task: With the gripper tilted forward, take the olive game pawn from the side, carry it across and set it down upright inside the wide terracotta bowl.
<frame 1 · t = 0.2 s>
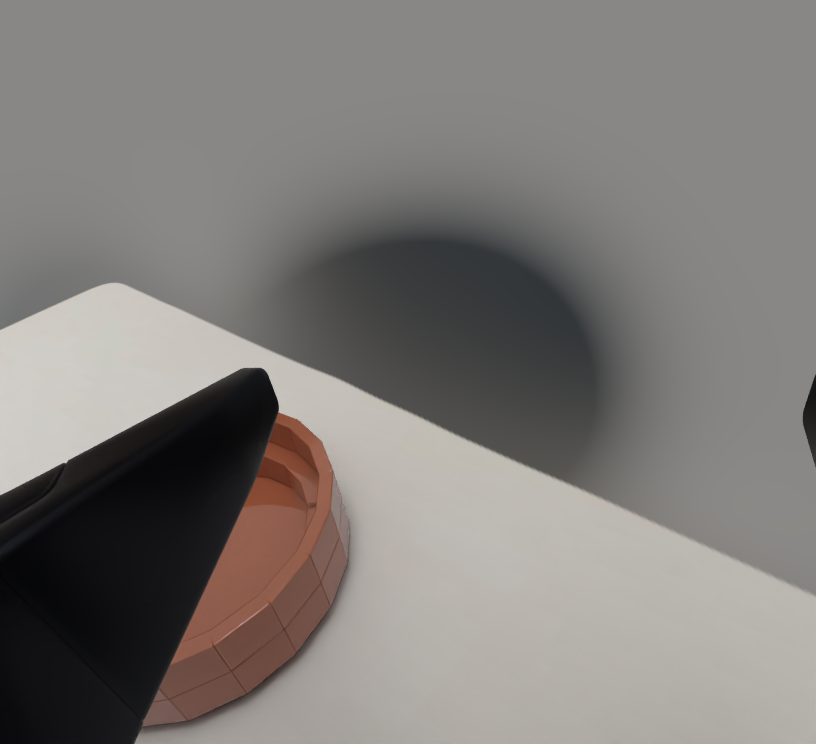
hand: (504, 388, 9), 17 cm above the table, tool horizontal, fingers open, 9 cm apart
bowl: (209, 567, 26), on the table
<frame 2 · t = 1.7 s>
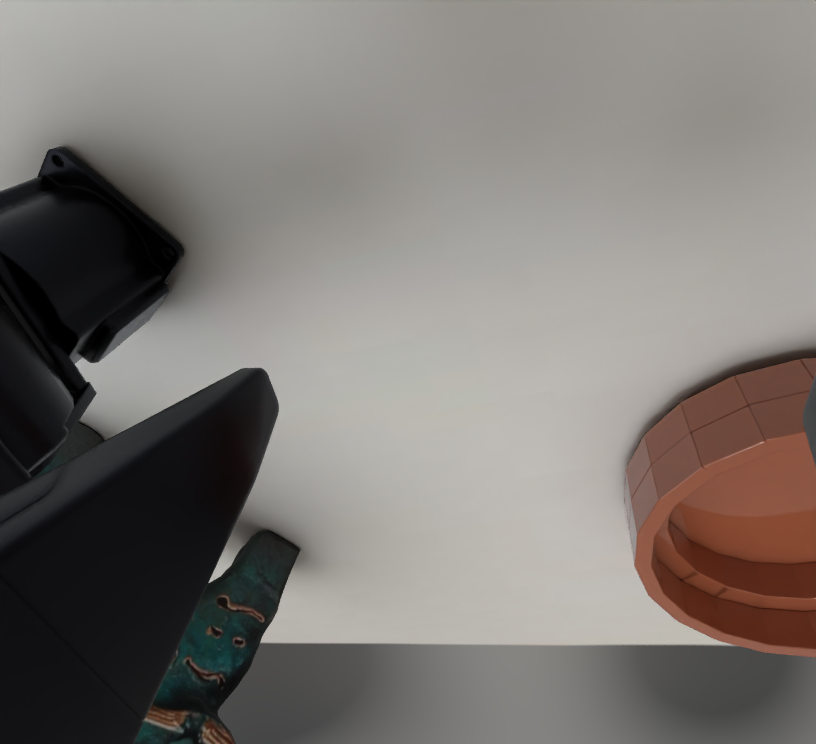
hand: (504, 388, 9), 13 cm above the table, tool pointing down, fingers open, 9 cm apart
ceramic cat: (187, 498, 36), on the table
bowl: (789, 478, 24), on the table
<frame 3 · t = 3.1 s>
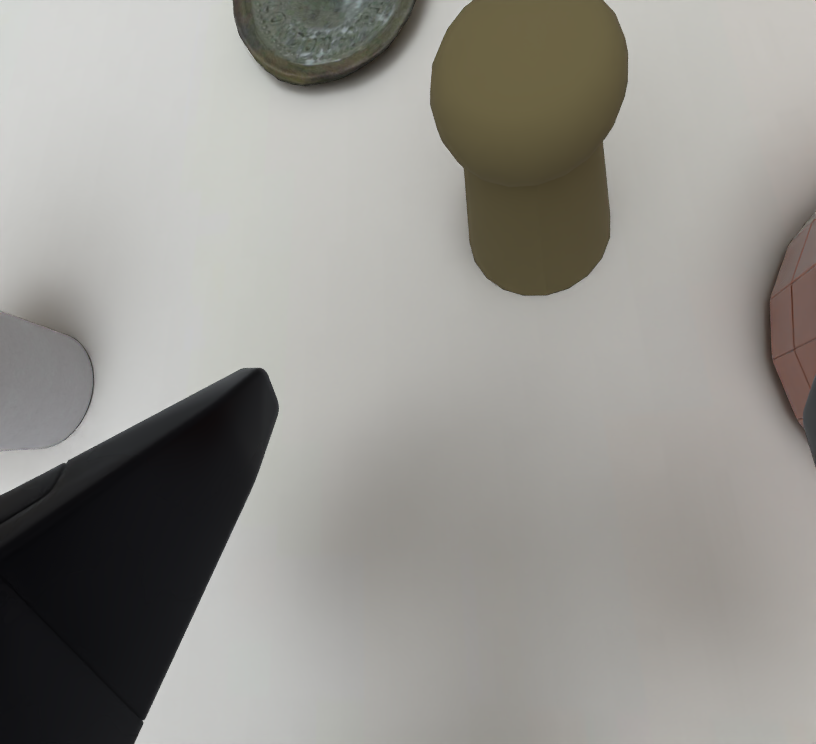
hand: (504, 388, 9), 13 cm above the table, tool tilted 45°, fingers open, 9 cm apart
coffee cup: (49, 390, 29), on the table
lid: (339, 11, 28), on the table
olive game pawn: (537, 231, 23), on the table
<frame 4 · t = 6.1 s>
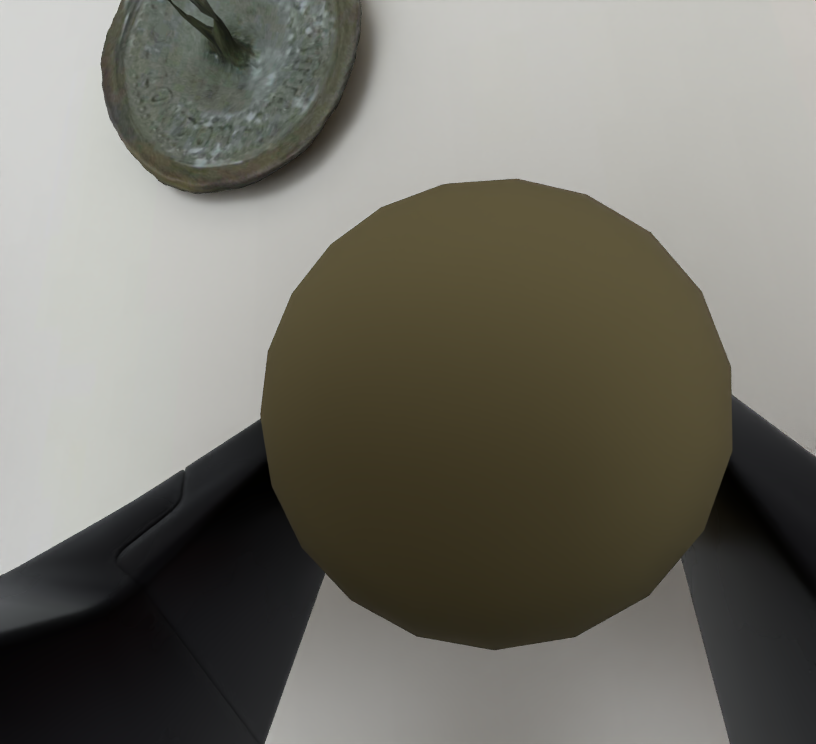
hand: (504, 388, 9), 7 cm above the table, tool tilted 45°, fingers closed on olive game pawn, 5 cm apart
lid: (252, 82, 20), on the table
olive game pawn: (526, 440, 15), on the table, touching gripper
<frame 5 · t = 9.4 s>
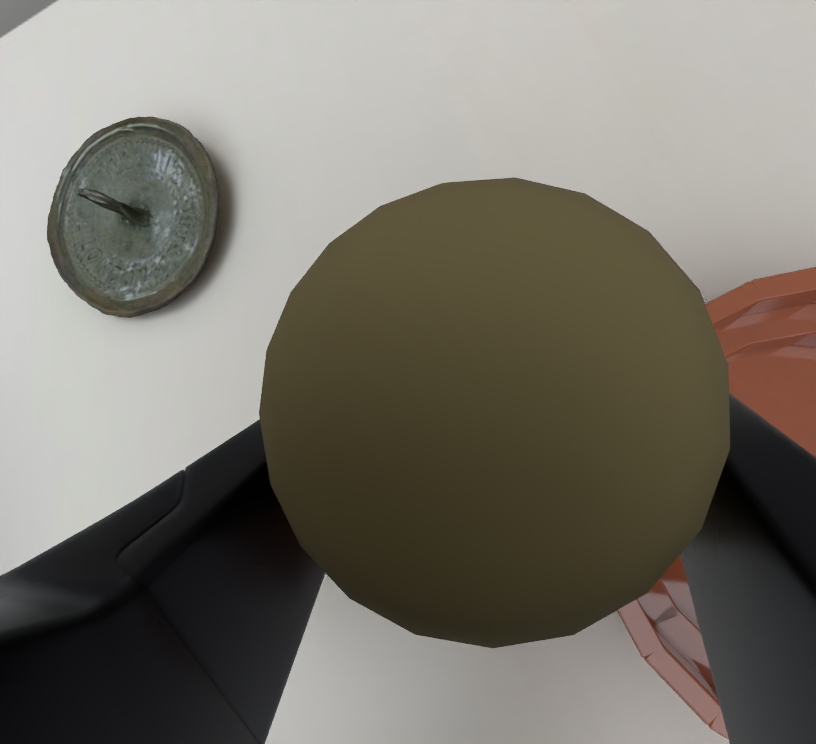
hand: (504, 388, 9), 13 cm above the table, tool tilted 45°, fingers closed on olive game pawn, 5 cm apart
lid: (156, 230, 29), on the table
olive game pawn: (525, 440, 15), point 6 cm above the table, touching gripper
bowl: (796, 503, 19), on the table
when the fingers open (7 cm above the table, at t = 13.0 s): olive game pawn stays where it is, resting on bowl.
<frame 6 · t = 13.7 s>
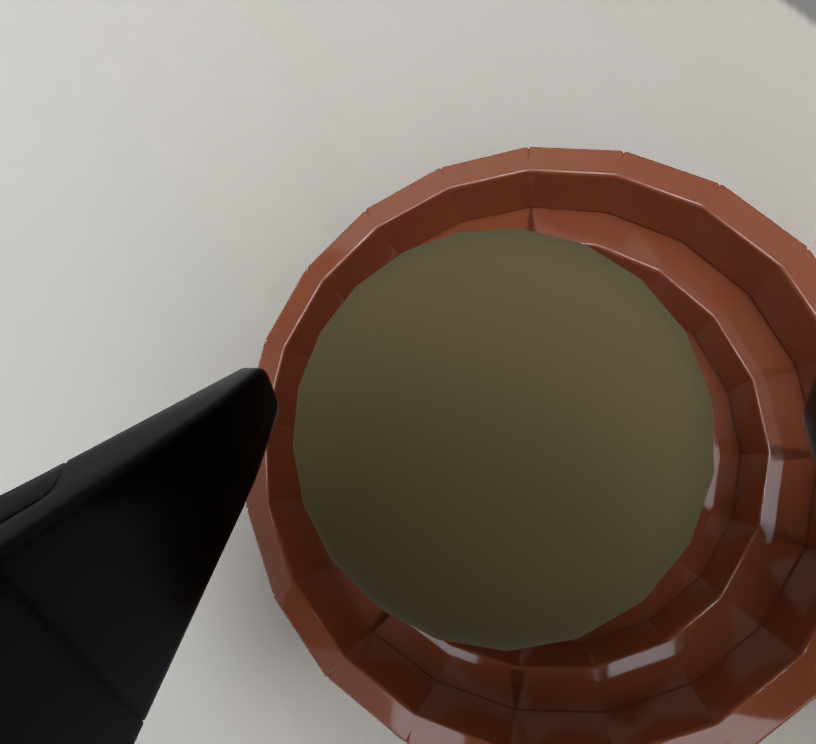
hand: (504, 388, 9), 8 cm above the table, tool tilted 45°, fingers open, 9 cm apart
olive game pawn: (528, 449, 16), resting on bowl
bowl: (529, 443, 16), on the table
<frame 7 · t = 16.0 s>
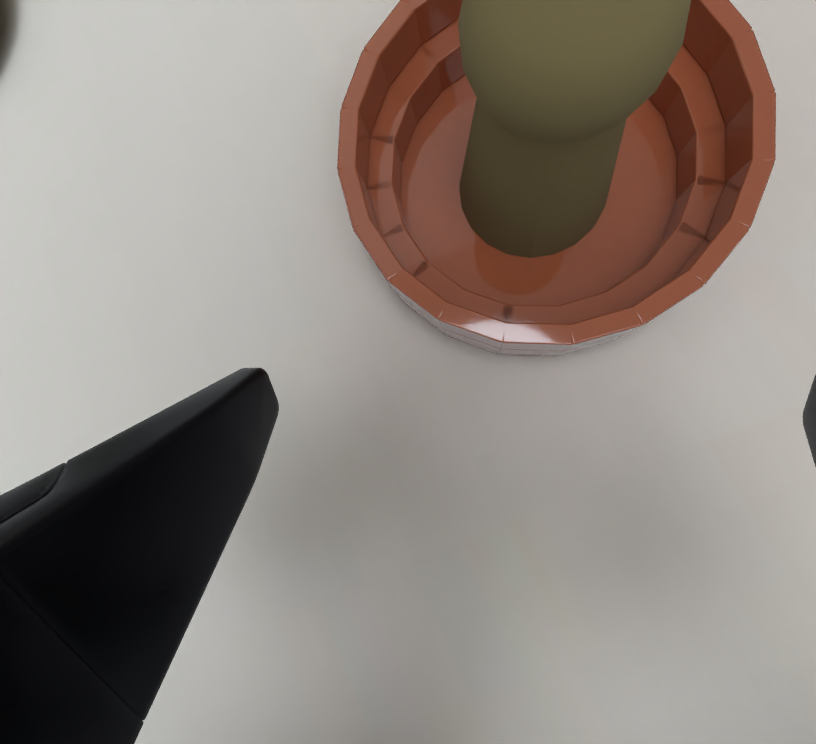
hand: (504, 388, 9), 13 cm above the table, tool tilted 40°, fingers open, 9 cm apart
olive game pawn: (532, 187, 22), resting on bowl
bowl: (532, 187, 22), on the table
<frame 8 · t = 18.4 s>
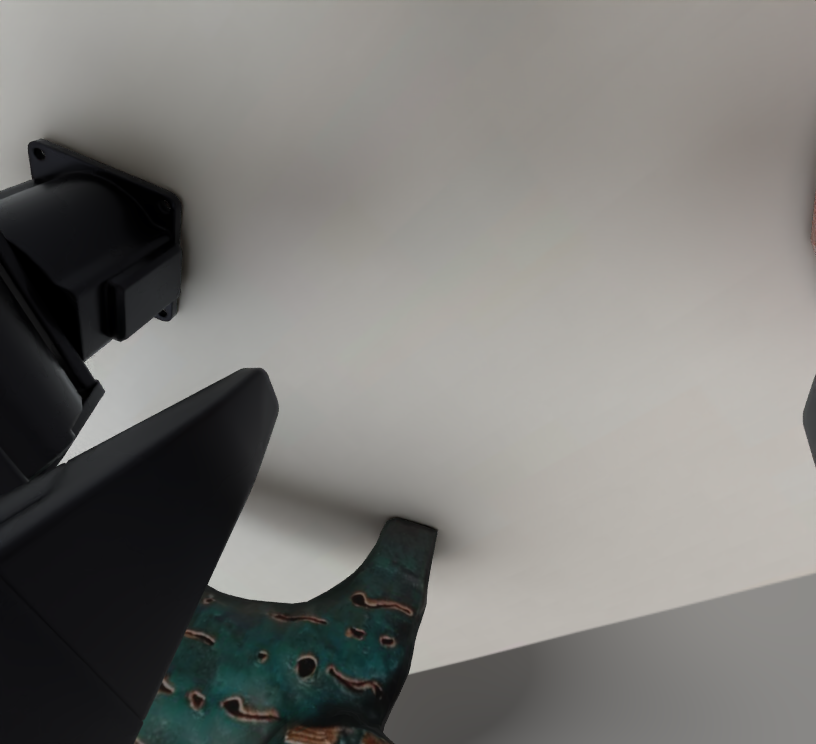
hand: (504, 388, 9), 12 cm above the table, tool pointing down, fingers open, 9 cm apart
ceramic cat: (304, 506, 33), on the table
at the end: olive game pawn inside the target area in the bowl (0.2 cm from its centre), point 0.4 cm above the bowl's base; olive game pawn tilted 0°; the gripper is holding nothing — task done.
